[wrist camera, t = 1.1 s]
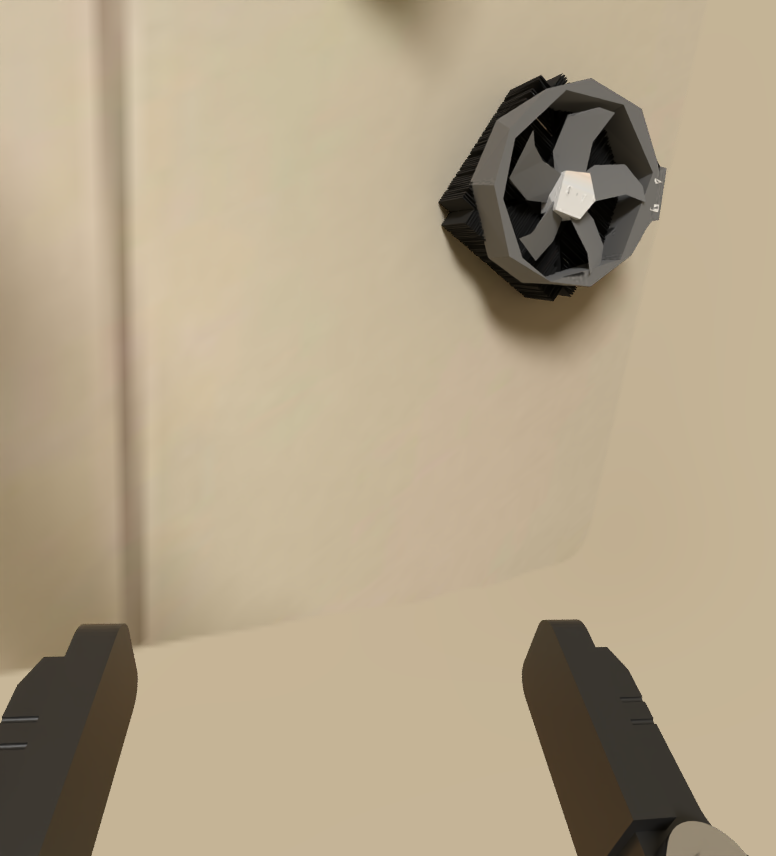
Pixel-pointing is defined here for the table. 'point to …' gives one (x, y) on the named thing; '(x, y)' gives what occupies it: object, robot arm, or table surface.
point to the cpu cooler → (557, 187)
